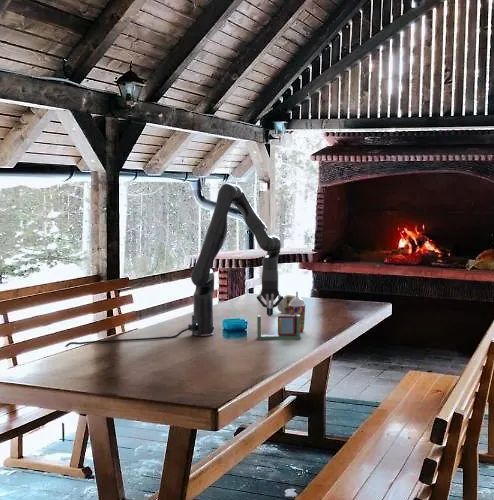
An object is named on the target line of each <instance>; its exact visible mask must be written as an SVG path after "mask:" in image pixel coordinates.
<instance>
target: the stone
mask: <svg viewBox="0 0 494 500" xmlns="http://www.w3.org/2000/svg"><path fill="white" fill-rule="evenodd" d="M295 297H296V295H291V294H286V295H285V296H283V299H282V300H281V302H280V303H279V304H278V305H277V307H276V308H277V310H278V311H279V312H281V313H282V314H289V305H288V304H289V303H290V301H291V300H292V299H293V298H295Z"/></svg>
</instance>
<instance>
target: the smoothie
mask: <svg viewBox="0 0 494 500" xmlns="http://www.w3.org/2000/svg"><path fill="white" fill-rule="evenodd" d="M295 293H296V295H295V296H296V297H295V298H293V299H292V300H291V301H290V303H289V304H288V305H289V313H288V315H300V334H301V333H303V332H304V330H305V319H306V303H305V301H304V299H302V298H301V297H299V295H298V294H299V292H298V291H296V292H295Z"/></svg>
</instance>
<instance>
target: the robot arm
mask: <svg viewBox="0 0 494 500" xmlns="http://www.w3.org/2000/svg"><path fill="white" fill-rule="evenodd" d="M232 205H234V207H236V208H237V210H238V211H239V212H240V213H241V215H242V218H243V221H244V223H245V225H246V226H247V228H248V229H249V231H250V232H251V233H252V234H253V235H254V238H255V240H256V242H257V244H258V246H259V248H260V249H261V250H262V251H264V252H266V255H265V256H264V257H263V258H262V272H261V291H260V293H259V294H258V295H256V300H257V301H258V302H259V303H260V305H261V306H262V307H263V308H265V309H266V315H267V316H268V317H272V316H273V315H274V308H278V307H277V306H278V304H279V303H280V302H281V300H282V299H283V298H284V296H283V295H282V294H280V291H279V270H278V268H279V267H278V266H279V257H280V253H281V248H282V243H281V239H280V237H278V236H277V235H269V234H268V233H267V232H268V226H267V225H266V223H265V222H264V221H263V220H262V218H260V216H259V215H258V213H257V212H256V210H255V208H253V206H252V205H251V203H250V201H249V200H248V198H247V195H246V194H245V192H244V190H243V189H242V187H241V186H239V185H237V184H234V183H224V184H222V185H221V186H220V188H219V190H218V193H217V197H216V201H215V205H214V210H213V213H212V216H211V219H210V222H209V225H208V227H207V230H206V233H205V235H204V241H203V243H202V245H201V249H200V253H199V255H198V258H197V261H196V263H195V265H194V267H193V268H192V271H191V275H190V280H191V282H192V285H194V286H195V290H194V292H193V295H192V296H193V297H192V299H193V301H192V303H193V314H192V315H191V323H189V324H187V327H186V328H184V329H182V330H181V331H179V332H178V333H177V334H175V335H172V336H171V335H170V336H158V337H157V336H156V337H155V336H154V337H141V338H140V337H139V338H122V339H121V338H120V339H118V338H117V339H103V340H91V341H81V342H77V341H70V342H68V343H67V344H65V346H64V348H67V347H69V346H72V345H87V344H98V343H112V342H113V343H114V342H134V341H135V342H137V341H149V340H150V341H152V340H163V339H164V340H165V339H175V338H177V337H179V336H180V335H181V334H183V333H184V332H186V331H190V332H191V335H192V336H195V337H210V336H213V335H214V330H215V326H214V309H213V308H214V302H213V301H214V299H213V298H214V292H215V273H214V270H213V269H212V267H213V264H214V261H215V258H216V257H217V256H218V254H219V252H220V251H221V249H222V247H223V245H224V243H225V240H226V237H227V234H228V229H229V228H228V214H229V211H230V208H231V206H232ZM262 298H263V299H264V300H265V302H264V301H263V299H262ZM276 299H277V300H276ZM275 300H276V302H274V301H275ZM61 430H62V431H61V435H62V437H61V439H62V440H61V441H62V442H65V423H64V422H61Z"/></svg>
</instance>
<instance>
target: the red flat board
mask: <svg viewBox="0 0 494 500" xmlns="http://www.w3.org/2000/svg"><path fill="white" fill-rule="evenodd" d="M277 335H295V316H279V315H277Z"/></svg>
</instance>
